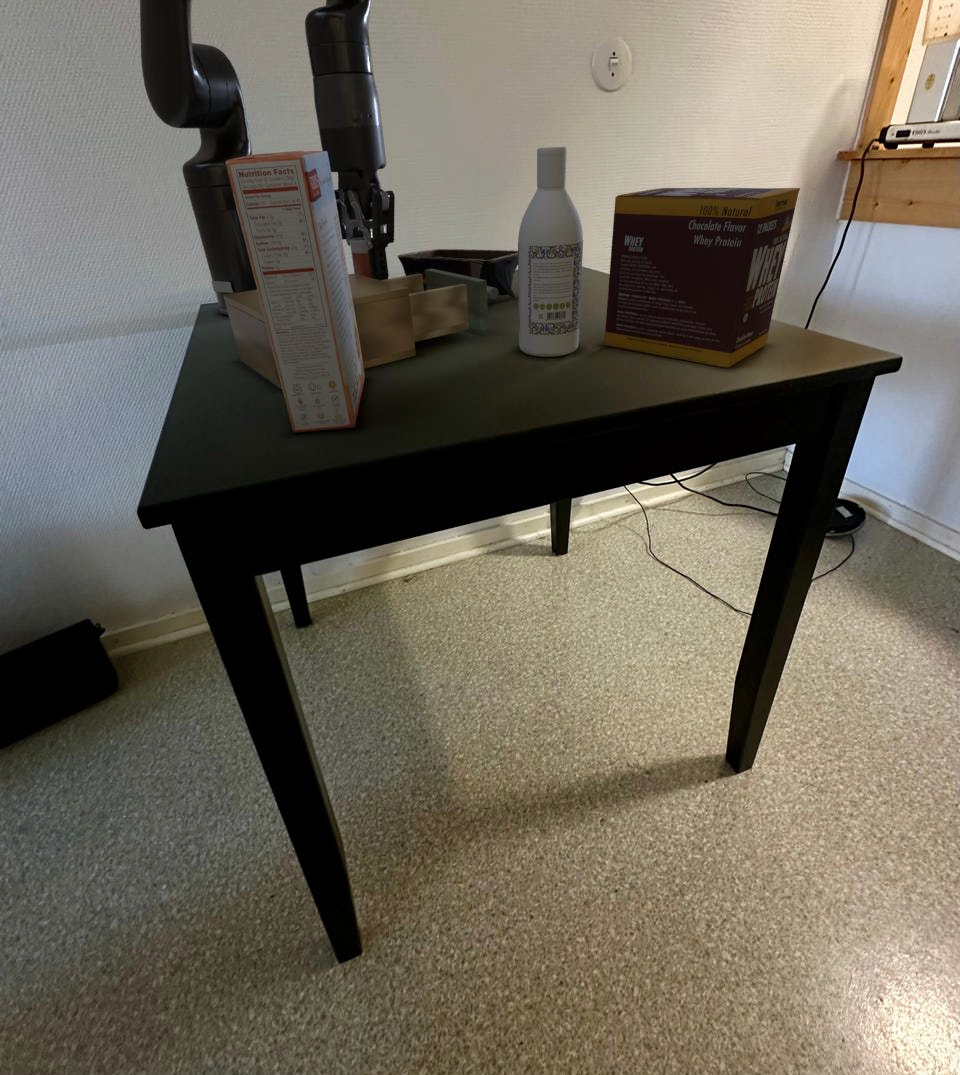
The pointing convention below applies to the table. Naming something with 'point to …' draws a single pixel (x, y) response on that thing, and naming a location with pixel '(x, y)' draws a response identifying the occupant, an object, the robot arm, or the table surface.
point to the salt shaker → (360, 256)
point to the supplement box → (697, 270)
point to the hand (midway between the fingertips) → (371, 276)
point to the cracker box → (302, 283)
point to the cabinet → (377, 322)
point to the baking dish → (466, 265)
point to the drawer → (446, 302)
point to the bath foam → (550, 263)
